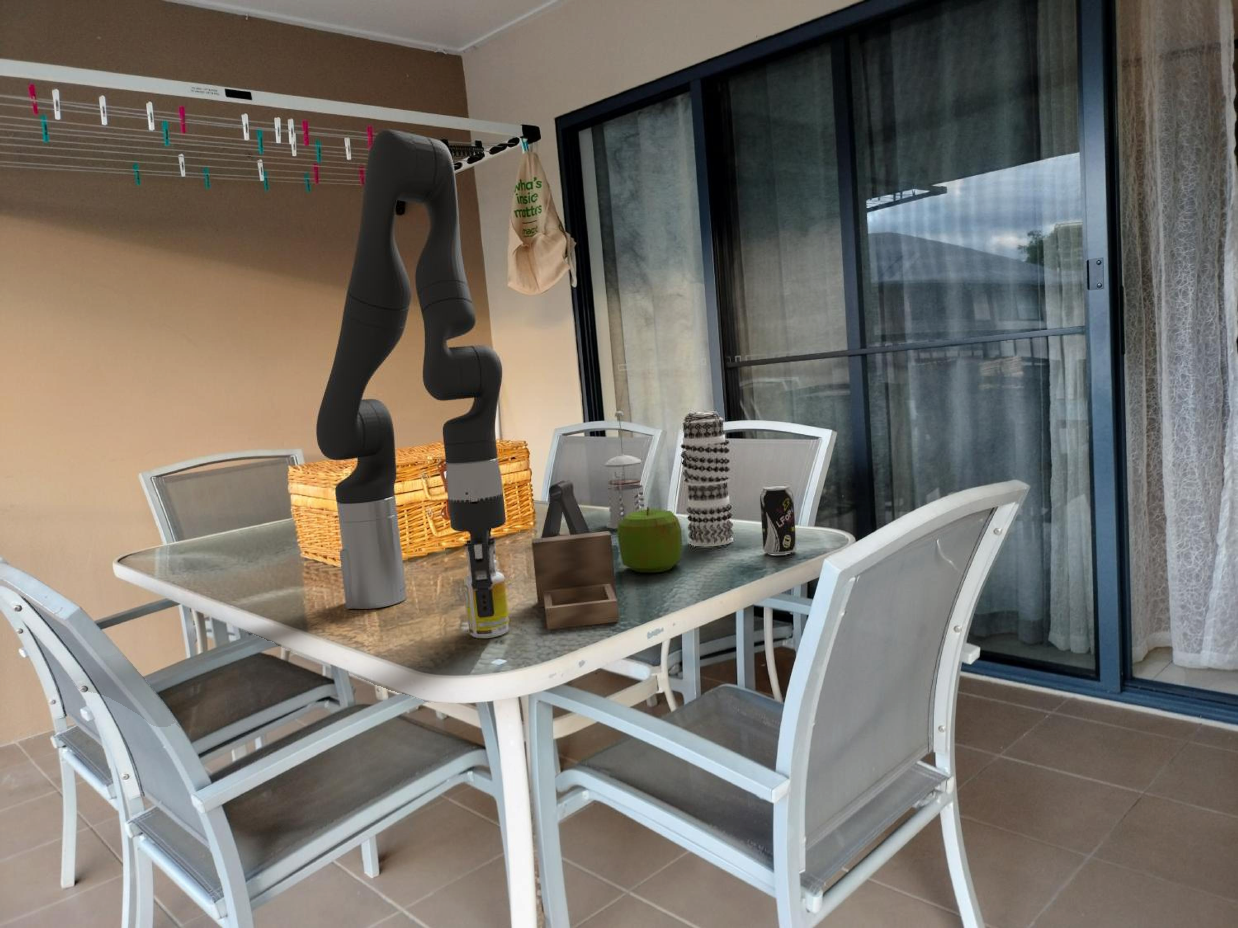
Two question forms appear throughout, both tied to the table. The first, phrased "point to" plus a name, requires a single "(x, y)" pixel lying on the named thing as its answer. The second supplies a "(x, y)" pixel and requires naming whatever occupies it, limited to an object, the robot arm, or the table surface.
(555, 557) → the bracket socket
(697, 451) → the decorative candle
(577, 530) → the phone stand
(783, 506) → the beverage can
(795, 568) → the table surface
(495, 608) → the supplement bottle
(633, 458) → the french press
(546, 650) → the table surface
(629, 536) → the apple
